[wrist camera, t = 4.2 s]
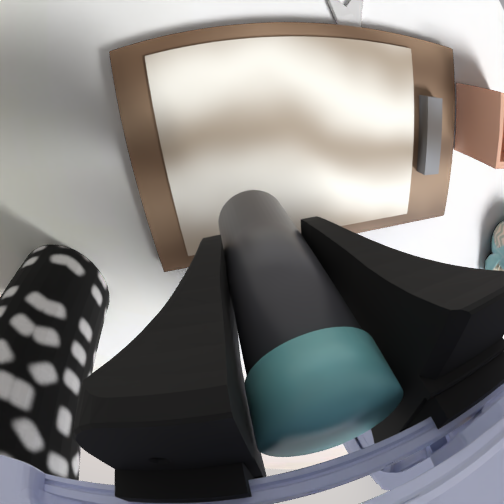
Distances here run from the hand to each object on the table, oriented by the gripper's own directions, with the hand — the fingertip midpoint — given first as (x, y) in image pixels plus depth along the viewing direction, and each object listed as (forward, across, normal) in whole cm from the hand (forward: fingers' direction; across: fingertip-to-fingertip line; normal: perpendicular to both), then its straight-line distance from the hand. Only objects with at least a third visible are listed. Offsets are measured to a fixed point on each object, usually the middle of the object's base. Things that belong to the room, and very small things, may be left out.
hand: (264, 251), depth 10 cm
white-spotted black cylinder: (+10, +15, +6) cm, 19 cm away
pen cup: (+9, -23, -4) cm, 25 cm away
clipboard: (+9, -6, -2) cm, 11 cm away
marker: (+2, 0, 0) cm, 2 cm away
